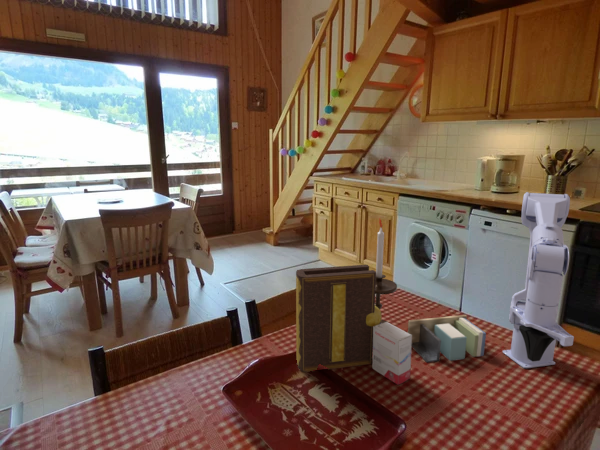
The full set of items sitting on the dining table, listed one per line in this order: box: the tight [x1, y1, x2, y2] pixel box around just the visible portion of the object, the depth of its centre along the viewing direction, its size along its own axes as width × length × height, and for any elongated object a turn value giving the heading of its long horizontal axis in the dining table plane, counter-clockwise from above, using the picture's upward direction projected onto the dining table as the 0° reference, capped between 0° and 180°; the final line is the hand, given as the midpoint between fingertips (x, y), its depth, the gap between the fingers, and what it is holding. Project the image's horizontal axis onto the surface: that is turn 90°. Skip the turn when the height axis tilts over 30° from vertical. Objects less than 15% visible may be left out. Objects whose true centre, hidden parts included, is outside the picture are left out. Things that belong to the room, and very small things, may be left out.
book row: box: [454, 318, 487, 357], centre depth 103 cm, size 3×9×7 cm, turn 11°
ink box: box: [372, 321, 412, 386], centre depth 91 cm, size 9×5×12 cm, turn 33°
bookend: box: [411, 324, 441, 363], centre depth 101 cm, size 4×9×6 cm, turn 11°
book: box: [295, 264, 383, 373], centre depth 95 cm, size 22×8×25 cm, turn 102°
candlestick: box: [375, 217, 398, 325], centre depth 112 cm, size 11×11×35 cm
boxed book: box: [434, 323, 467, 362], centre depth 101 cm, size 4×8×6 cm, turn 11°
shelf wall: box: [407, 314, 468, 343], centre depth 107 cm, size 18×1×7 cm, turn 101°
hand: (533, 359), depth 81 cm, fingers closed
